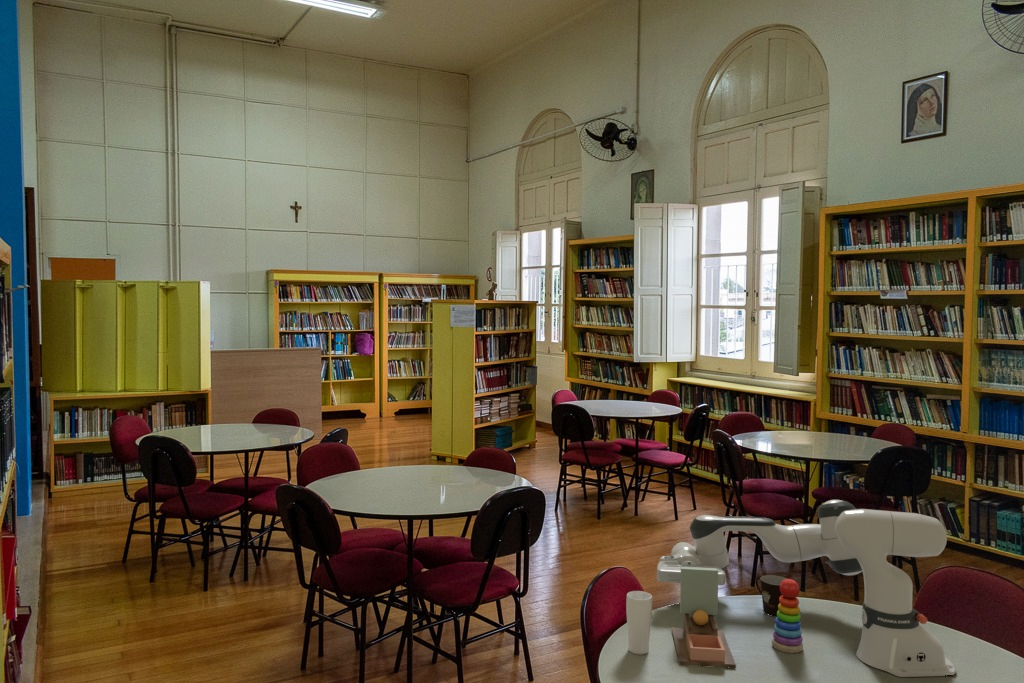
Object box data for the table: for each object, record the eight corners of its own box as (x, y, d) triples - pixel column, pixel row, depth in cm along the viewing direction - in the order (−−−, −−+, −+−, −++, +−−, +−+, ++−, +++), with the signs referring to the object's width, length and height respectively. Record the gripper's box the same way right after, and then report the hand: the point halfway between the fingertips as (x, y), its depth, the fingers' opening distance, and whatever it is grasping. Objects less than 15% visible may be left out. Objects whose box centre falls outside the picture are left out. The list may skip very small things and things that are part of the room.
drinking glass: (651, 658, 192) (652, 601, 191) (625, 655, 193) (625, 598, 193) (651, 646, 198) (652, 591, 198) (626, 644, 200) (627, 589, 199)
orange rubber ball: (707, 622, 203) (707, 607, 202) (709, 628, 199) (709, 613, 199) (692, 621, 203) (692, 607, 203) (694, 627, 199) (694, 612, 199)
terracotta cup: (719, 648, 195) (719, 635, 195) (724, 663, 187) (725, 650, 187) (686, 646, 196) (686, 633, 196) (690, 661, 188) (690, 647, 188)
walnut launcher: (722, 633, 207) (722, 612, 207) (735, 668, 186) (736, 644, 186) (671, 630, 209) (672, 609, 209) (679, 664, 188) (679, 640, 188)
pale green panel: (716, 616, 206) (717, 568, 205) (717, 619, 204) (718, 570, 203) (679, 614, 207) (680, 566, 207) (680, 617, 205) (681, 568, 205)
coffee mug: (794, 618, 218) (794, 585, 218) (765, 618, 218) (765, 584, 218) (780, 603, 230) (781, 572, 230) (752, 603, 230) (753, 571, 230)
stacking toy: (766, 647, 198) (768, 579, 198) (779, 638, 204) (780, 571, 204) (795, 657, 193) (797, 586, 193) (807, 647, 199) (809, 578, 198)
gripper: (722, 579, 228) (729, 596, 215) (655, 576, 231) (658, 592, 217) (722, 559, 228) (730, 574, 214) (655, 556, 231) (658, 571, 217)
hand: (693, 583), depth 216 cm, fingers closed
